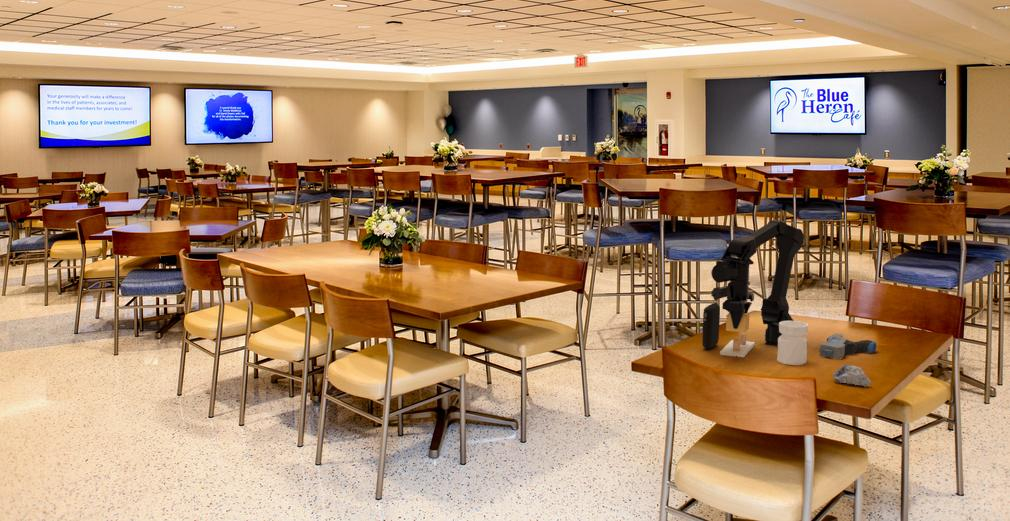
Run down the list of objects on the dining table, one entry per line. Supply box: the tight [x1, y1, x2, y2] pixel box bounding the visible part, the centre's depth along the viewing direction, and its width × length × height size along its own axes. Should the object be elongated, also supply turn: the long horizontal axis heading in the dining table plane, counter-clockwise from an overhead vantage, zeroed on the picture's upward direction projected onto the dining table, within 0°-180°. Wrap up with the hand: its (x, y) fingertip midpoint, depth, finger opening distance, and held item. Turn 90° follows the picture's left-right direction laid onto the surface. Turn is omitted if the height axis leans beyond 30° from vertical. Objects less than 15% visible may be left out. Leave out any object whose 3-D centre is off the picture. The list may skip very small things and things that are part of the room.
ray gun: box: [819, 333, 878, 360], centre depth 276 cm, size 4×19×15 cm
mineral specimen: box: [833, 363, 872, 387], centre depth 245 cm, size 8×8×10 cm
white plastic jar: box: [776, 320, 809, 366], centre depth 267 cm, size 9×9×12 cm
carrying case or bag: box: [701, 302, 721, 350], centre depth 282 cm, size 11×3×15 cm, turn 145°
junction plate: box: [719, 332, 756, 358], centre depth 281 cm, size 8×17×4 cm, turn 153°
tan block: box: [725, 312, 750, 333], centre depth 275 cm, size 6×6×5 cm
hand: (737, 326), depth 276 cm, fingers closed on tan block, 6 cm apart
